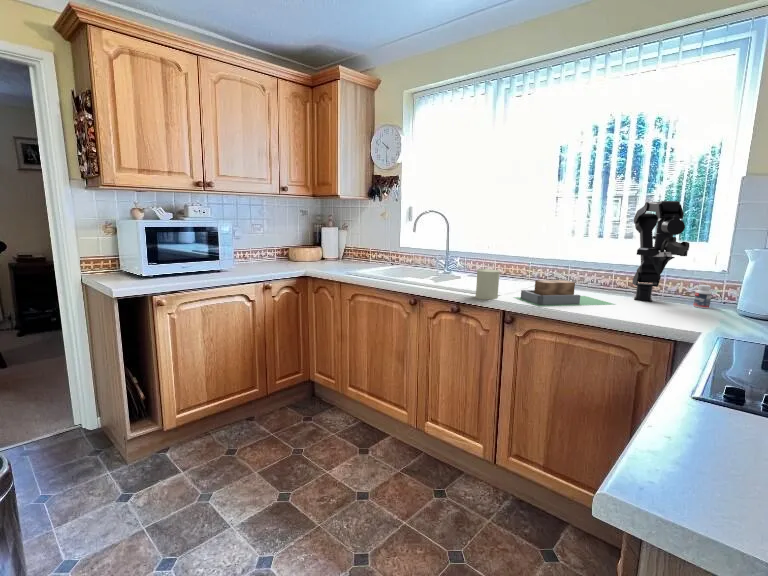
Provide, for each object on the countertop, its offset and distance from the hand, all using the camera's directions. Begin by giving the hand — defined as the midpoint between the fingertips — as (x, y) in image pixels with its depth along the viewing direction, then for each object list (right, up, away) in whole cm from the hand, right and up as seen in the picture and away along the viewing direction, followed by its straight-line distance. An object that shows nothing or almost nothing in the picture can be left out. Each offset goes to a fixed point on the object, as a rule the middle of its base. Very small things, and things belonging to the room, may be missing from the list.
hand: (659, 274), depth 167 cm
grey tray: (-41, -11, +5) cm, 43 cm away
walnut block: (-39, -11, +5) cm, 41 cm away
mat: (-35, -11, +6) cm, 37 cm away
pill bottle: (+19, -13, +3) cm, 23 cm away
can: (-65, -10, +10) cm, 67 cm away
